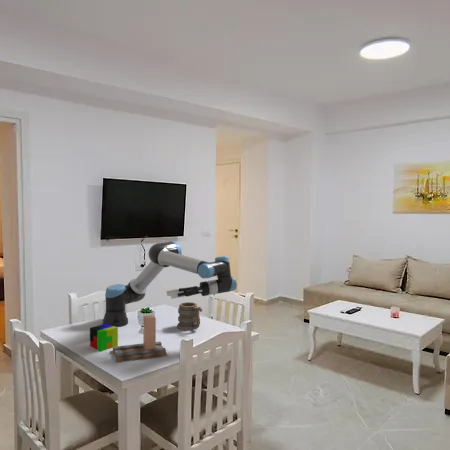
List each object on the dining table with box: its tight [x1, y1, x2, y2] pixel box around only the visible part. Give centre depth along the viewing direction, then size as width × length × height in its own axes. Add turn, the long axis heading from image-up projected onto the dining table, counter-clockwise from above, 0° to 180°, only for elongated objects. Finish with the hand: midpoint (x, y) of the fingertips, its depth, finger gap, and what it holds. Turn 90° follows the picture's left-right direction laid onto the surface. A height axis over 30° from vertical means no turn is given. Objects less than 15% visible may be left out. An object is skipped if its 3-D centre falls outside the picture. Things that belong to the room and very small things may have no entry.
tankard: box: [176, 301, 203, 331], centre depth 245 cm, size 20×13×15 cm, turn 37°
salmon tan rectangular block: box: [142, 314, 157, 350], centre depth 207 cm, size 5×6×16 cm
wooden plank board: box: [112, 341, 168, 363], centre depth 206 cm, size 24×16×2 cm, turn 112°
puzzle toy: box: [89, 323, 119, 352], centre depth 214 cm, size 10×10×10 cm
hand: (168, 294), depth 214 cm, fingers open, 13 cm apart
